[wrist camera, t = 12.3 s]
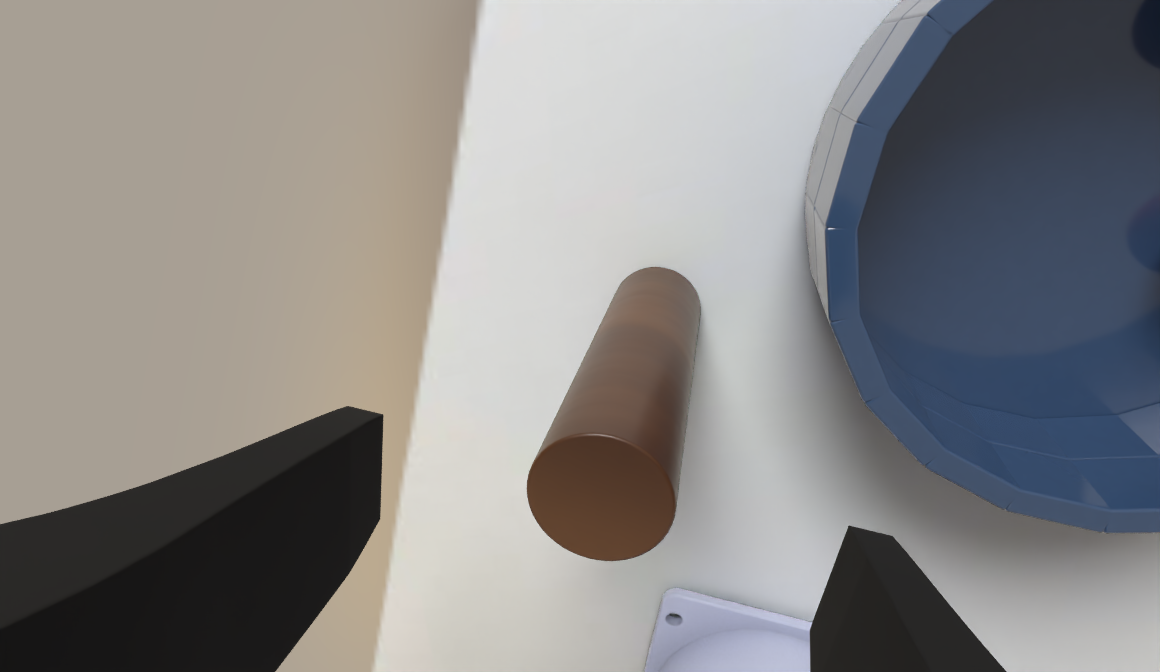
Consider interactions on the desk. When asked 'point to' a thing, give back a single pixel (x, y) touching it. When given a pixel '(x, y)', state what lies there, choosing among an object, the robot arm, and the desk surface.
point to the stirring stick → (622, 425)
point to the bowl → (1003, 248)
